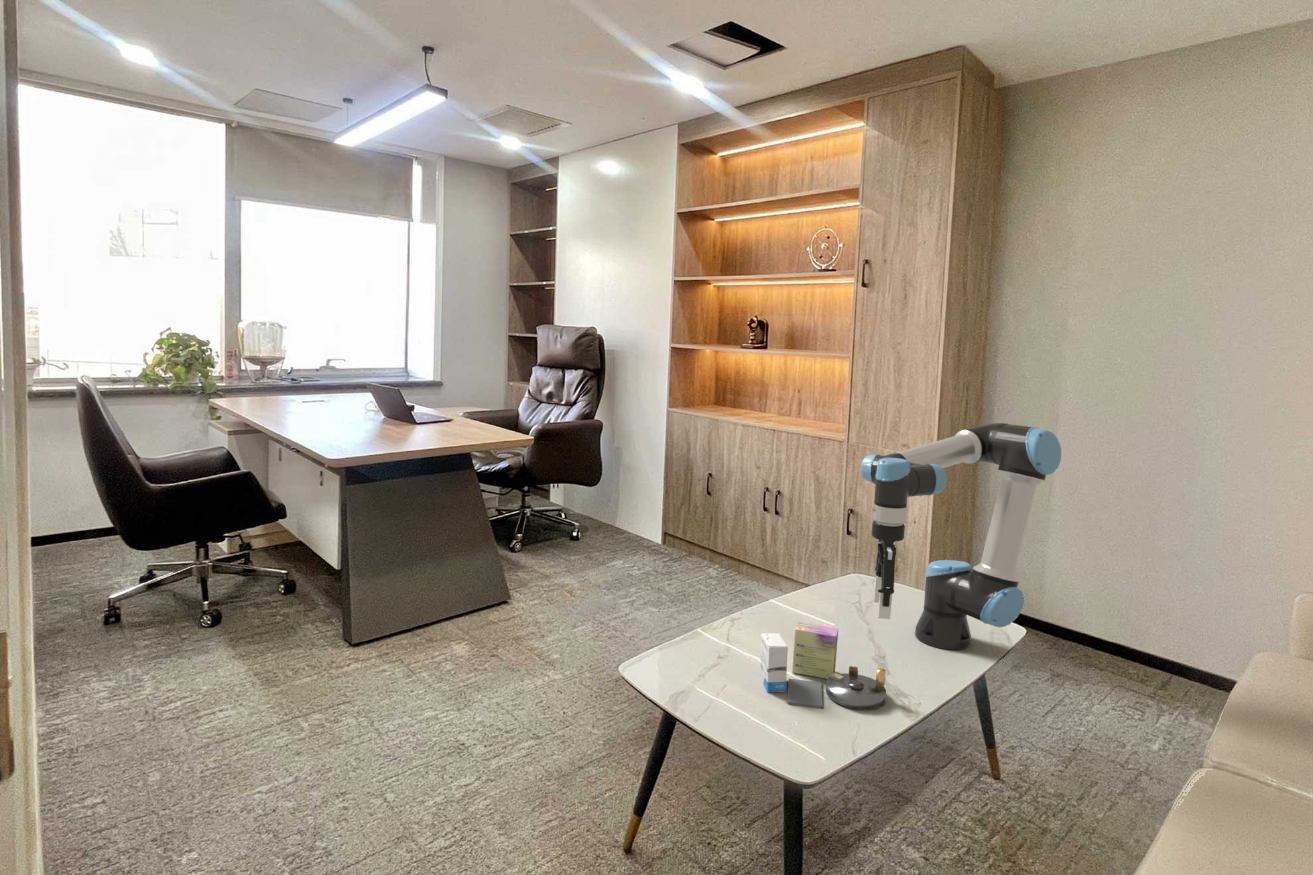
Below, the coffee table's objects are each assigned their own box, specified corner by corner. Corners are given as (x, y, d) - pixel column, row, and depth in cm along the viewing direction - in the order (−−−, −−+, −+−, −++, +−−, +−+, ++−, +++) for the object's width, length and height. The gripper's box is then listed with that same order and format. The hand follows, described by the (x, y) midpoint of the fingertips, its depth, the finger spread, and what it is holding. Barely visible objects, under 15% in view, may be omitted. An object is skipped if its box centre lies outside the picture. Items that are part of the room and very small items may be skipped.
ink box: (786, 692, 179) (789, 646, 177) (765, 692, 178) (768, 646, 177) (777, 676, 187) (780, 632, 186) (758, 676, 187) (760, 632, 185)
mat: (821, 684, 183) (821, 682, 183) (822, 708, 172) (822, 705, 172) (788, 680, 185) (788, 678, 185) (787, 703, 173) (787, 701, 173)
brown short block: (856, 678, 188) (857, 666, 187) (857, 682, 185) (858, 671, 185) (848, 677, 188) (849, 666, 187) (849, 681, 186) (849, 670, 185)
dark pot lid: (882, 684, 184) (884, 658, 183) (888, 712, 170) (891, 684, 169) (824, 677, 186) (826, 651, 185) (826, 705, 173) (828, 676, 172)
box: (835, 670, 191) (838, 627, 190) (833, 680, 186) (836, 636, 184) (795, 663, 195) (798, 621, 193) (791, 673, 189) (794, 629, 188)
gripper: (868, 510, 190) (862, 592, 193) (877, 533, 168) (870, 625, 171) (899, 512, 188) (892, 595, 191) (911, 535, 166) (903, 629, 169)
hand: (881, 609), depth 181 cm, fingers open, 10 cm apart
